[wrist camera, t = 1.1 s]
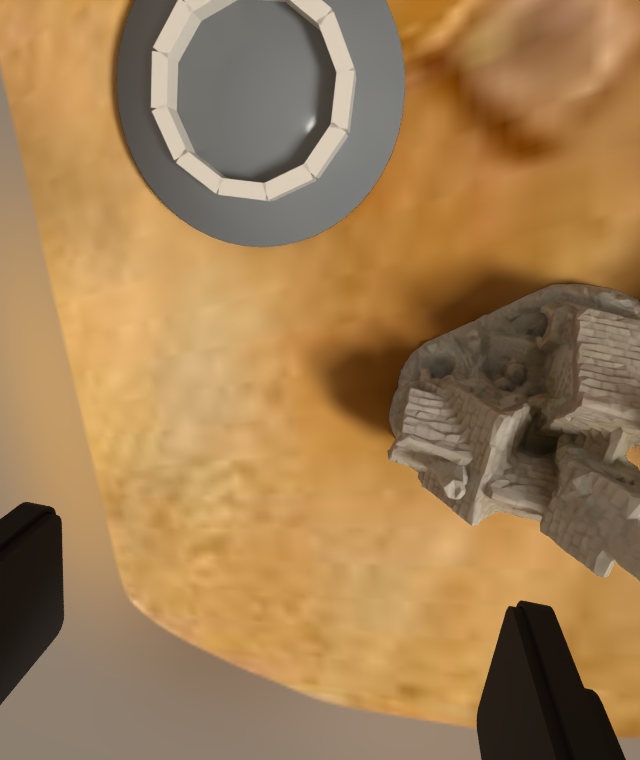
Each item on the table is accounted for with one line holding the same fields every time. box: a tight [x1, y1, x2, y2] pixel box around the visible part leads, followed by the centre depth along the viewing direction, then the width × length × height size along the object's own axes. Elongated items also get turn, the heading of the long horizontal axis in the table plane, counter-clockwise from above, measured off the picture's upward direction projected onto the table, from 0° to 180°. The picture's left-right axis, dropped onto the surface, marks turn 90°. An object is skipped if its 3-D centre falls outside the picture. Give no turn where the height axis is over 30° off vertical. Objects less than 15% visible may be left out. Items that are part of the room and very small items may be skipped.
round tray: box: [117, 0, 405, 247], centre depth 32 cm, size 18×18×2 cm
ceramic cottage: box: [388, 284, 640, 581], centre depth 30 cm, size 16×16×15 cm
